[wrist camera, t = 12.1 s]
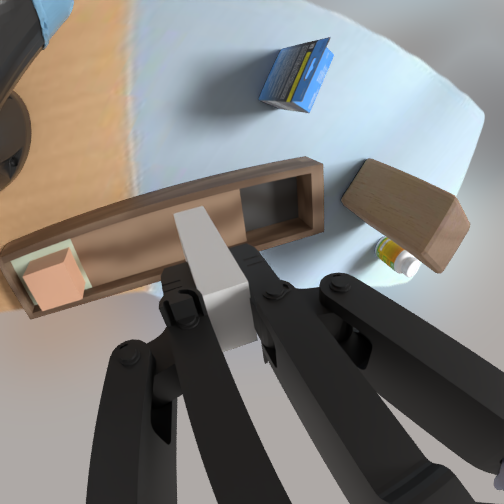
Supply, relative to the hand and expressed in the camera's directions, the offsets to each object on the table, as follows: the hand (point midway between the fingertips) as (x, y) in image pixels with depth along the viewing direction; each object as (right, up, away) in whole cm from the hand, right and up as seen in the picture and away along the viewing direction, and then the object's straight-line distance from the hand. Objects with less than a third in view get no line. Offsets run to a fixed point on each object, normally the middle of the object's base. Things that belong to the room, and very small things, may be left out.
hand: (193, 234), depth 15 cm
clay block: (-25, -4, +21) cm, 32 cm away
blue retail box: (+7, +24, +22) cm, 33 cm away
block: (+24, +11, +37) cm, 45 cm away
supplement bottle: (+31, +1, +46) cm, 56 cm away
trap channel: (-11, +3, +27) cm, 29 cm away
